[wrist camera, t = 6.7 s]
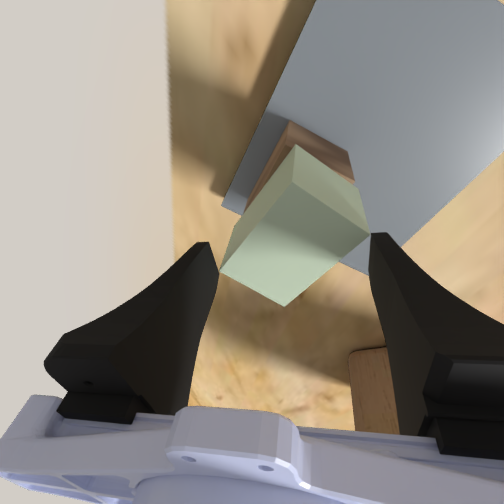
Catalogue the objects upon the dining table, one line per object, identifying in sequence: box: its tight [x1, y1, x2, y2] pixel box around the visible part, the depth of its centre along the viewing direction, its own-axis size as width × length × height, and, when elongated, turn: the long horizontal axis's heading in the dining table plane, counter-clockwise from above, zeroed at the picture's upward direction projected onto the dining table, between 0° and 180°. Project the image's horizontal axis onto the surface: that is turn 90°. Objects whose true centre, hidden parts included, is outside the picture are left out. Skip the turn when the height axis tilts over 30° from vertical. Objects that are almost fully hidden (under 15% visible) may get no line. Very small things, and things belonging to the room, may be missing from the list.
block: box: [348, 347, 400, 435], centre depth 26 cm, size 10×10×20 cm
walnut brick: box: [243, 120, 355, 214], centre depth 18 cm, size 4×6×4 cm, turn 155°
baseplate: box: [221, 0, 504, 276], centre depth 19 cm, size 13×16×1 cm
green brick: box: [219, 144, 370, 307], centre depth 15 cm, size 4×6×4 cm, turn 148°
